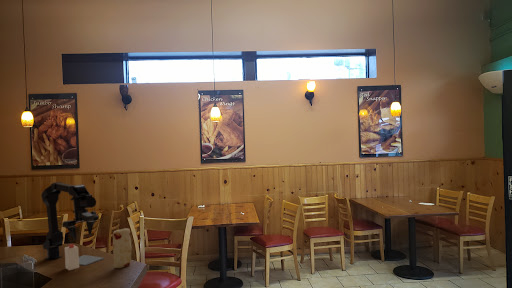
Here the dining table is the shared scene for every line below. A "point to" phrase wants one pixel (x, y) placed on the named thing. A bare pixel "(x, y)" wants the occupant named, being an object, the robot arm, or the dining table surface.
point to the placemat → (88, 259)
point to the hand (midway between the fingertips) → (82, 236)
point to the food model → (122, 248)
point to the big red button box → (71, 257)
